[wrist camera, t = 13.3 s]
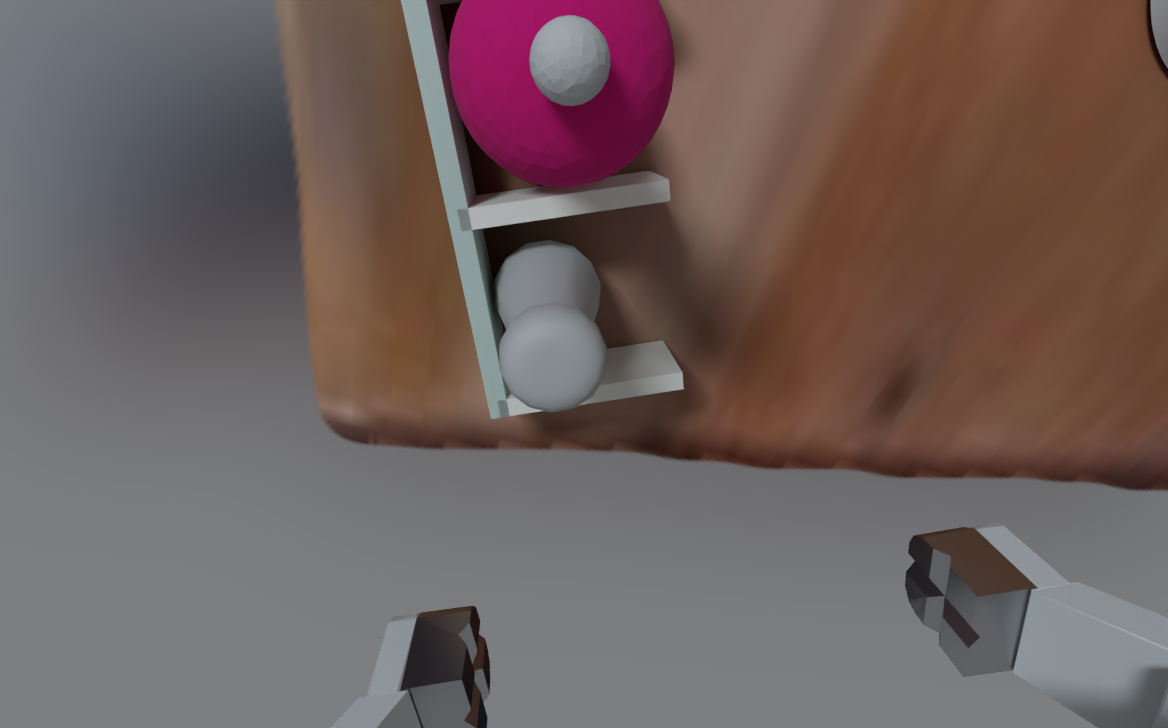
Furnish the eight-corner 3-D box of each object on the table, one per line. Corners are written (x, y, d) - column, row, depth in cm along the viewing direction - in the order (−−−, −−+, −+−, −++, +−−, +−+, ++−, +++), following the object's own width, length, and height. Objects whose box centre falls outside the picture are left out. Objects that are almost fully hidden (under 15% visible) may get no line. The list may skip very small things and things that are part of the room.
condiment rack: (631, -46, 29) (651, -77, 24) (664, 355, 37) (683, 389, 32) (414, -17, 28) (391, -43, 24) (495, 380, 36) (491, 418, 32)
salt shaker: (608, 248, 34) (652, 320, 22) (580, 339, 36) (606, 450, 24) (508, 220, 33) (497, 279, 21) (484, 315, 35) (462, 419, 23)
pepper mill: (445, 96, 30) (317, 65, 12) (539, -23, 29) (560, -274, 10) (551, 195, 33) (581, 298, 14) (644, 90, 31) (813, 51, 13)
